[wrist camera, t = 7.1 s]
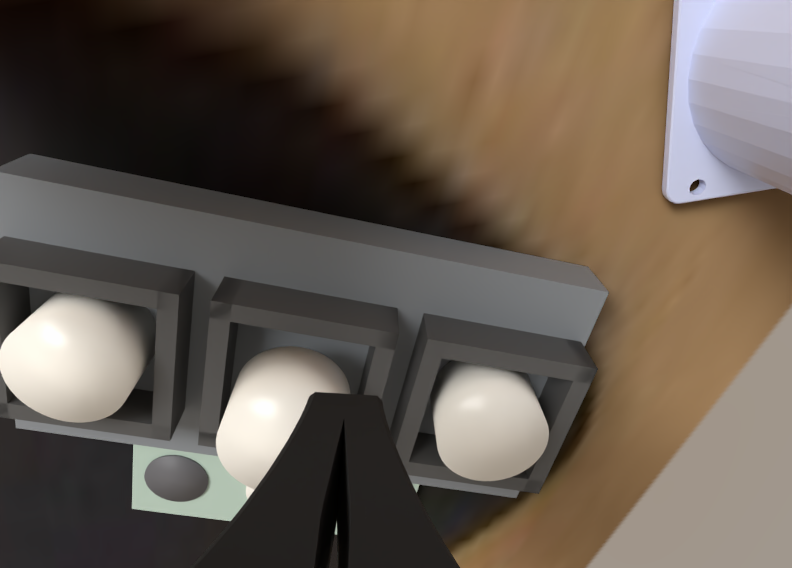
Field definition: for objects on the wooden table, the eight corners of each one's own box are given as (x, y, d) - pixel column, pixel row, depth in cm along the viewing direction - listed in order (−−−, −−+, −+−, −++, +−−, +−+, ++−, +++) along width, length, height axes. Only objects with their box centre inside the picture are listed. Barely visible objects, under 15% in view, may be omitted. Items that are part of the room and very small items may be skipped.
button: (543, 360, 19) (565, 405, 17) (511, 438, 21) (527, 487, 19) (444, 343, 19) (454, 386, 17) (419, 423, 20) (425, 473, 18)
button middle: (360, 357, 17) (358, 407, 15) (338, 444, 18) (334, 502, 16) (241, 337, 16) (221, 386, 14) (230, 428, 18) (210, 486, 16)
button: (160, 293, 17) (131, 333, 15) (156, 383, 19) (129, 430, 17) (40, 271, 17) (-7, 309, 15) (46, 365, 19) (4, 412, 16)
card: (422, 466, 24) (423, 475, 24) (399, 534, 26) (400, 544, 25) (137, 425, 22) (132, 433, 22) (135, 501, 24) (131, 510, 24)
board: (587, 266, 20) (629, 316, 17) (505, 461, 24) (526, 531, 21) (30, 153, 17) (-48, 186, 14) (45, 393, 22) (-12, 460, 18)
